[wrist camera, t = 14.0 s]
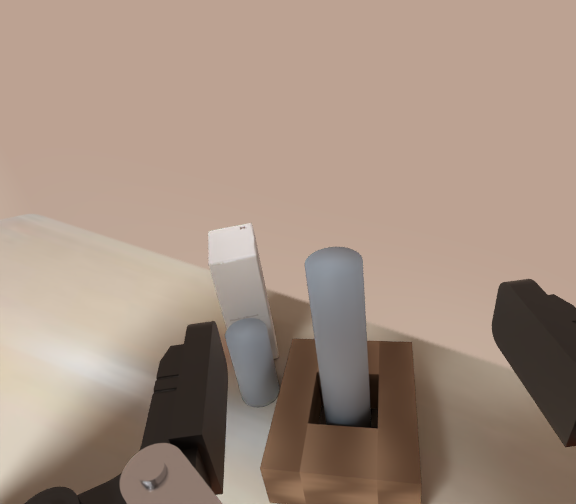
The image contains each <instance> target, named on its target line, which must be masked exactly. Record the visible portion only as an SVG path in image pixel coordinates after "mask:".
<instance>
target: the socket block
mask: <svg viewBox="0 0 576 504" xmlns="http://www.w3.org/2000/svg"><path fill="white" fill-rule="evenodd" d="M367 352H368V371H369V390H370V408H375V409H378V429H376V428H363V427H349V426H335V425H322V424H319V420H320V413H321V406H322V405H324V403H323V396H322V389H321V381H320V374H319V367H318V359H317V352H316V344H315V339H292V343H291V347H290V351H289V355H288V359H287V363H286V367H285V371H284V375H283V379H282V383H281V387H280V391H279V395H278V399H277V403H276V407H275V411H274V415H273V419H272V423H271V427H270V431H269V435H268V439H267V443H266V447H265V451H264V455H263V459H262V463H261V467H260V470H261V473H262V477H263V480H264V484H265V487H266V491H267V494H268V498H269V501H270V502H271V503H279V504H421V470H420V455H419V440H418V426H417V411H416V396H415V381H414V366H413V351H412V342H388V341H367Z"/></svg>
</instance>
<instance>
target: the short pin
mask: <svg viewBox="0 0 576 504" xmlns="http://www.w3.org/2000/svg"><path fill="white" fill-rule="evenodd" d="M225 339H226V342H227V346H228V349H229V353H230V356H231V360H232V364H233V367H234V371H235V374H236V378H237V381H238V385H239V388H240V392H241V395H242V399H243V401H244V402H245V403H246V404H248V405H249V406H252V407H263V406H266V405H268V404H270V403H272V402H273V401H274V400H275V399H276V398H277V396H278V394H279V390H280V388H279V383H278V378H277V374H276V369H275V364H274V359H273V355H272V350H271V345H270V341H269V336H268V331H267V327H266V324H265V323H264V322H263V321H261V320H259V319H256V318H245V319H241V320H239V321H236V322H235V323H233V324H232V325H231V326H229V328H228V329H227V331H226V333H225Z"/></svg>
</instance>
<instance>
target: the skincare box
mask: <svg viewBox="0 0 576 504" xmlns="http://www.w3.org/2000/svg"><path fill="white" fill-rule="evenodd" d="M208 250H209V268H210V272H211V276H212V279H213V283H214V286H215V290H216V293H217V297H218V300H219V304H220V307H221V311H222V315H223V318H224V321H225V325H226V328H227V329H228V328H229V326H231V325H232V324H233V323H235V322H236V321H239V320H241V319H245V318H256V319H259V320H261V321H263V322H264V323H265V324H266V327H267V331H268V336H269V341H270V345H271V350H272V355H273V359H276V358H278V357H279V353H278V347H277V341H276V335H275V330H274V325H273V320H272V315H271V310H270V305H269V301H268V296H267V291H266V287H265V282H264V277H263V273H262V268H261V263H260V258H259V254H258V249H257V244H256V238H255V235H254V230H253V226H252V224H251V223H248V224H243V225H237V226H232V227H227V228H221V229H216V230H212V231H209V232H208Z"/></svg>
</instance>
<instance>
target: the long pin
mask: <svg viewBox="0 0 576 504" xmlns="http://www.w3.org/2000/svg"><path fill="white" fill-rule="evenodd" d="M305 270H306V278H307V286H308V293H309V300H310V308H311V315H312V322H313V330H314V337H315V344H316V352H317V359H318V367H319V374H320V381H321V389H322V396H323V403H324V411H325V418H326V425H335V426H349V427H363V428H372V427H371V409H370V390H369V371H368V352H367V334H366V316H365V296H364V278H363V260H362V257H361V255H360V254H359V253H358V252H356V251H354V250H352V249H349V248H345V247H329V248H324V249H321V250H318V251H316V252H314V253H312V254H311V255H310V256H309V257H308V258H307V259H306V261H305Z"/></svg>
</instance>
